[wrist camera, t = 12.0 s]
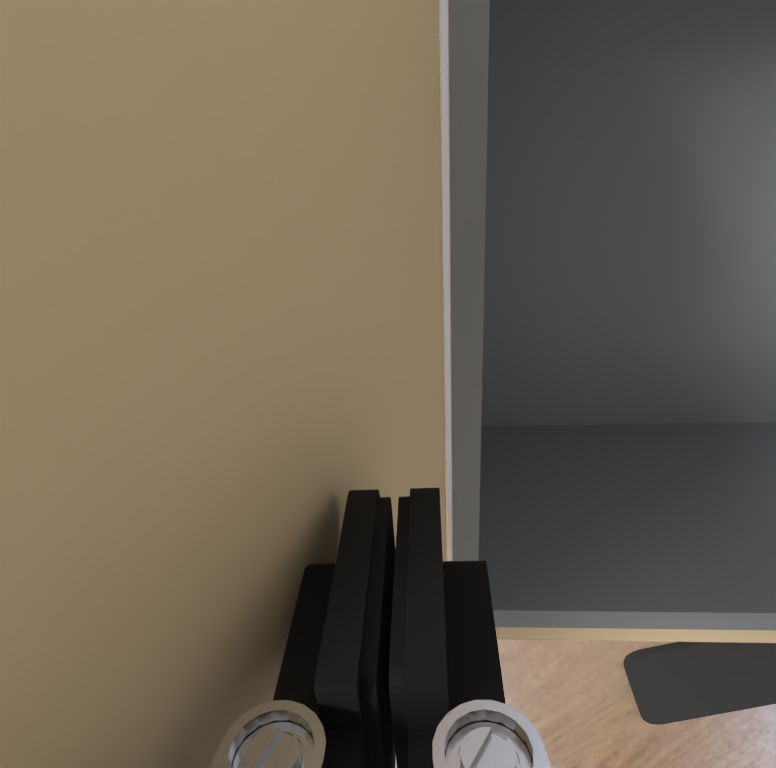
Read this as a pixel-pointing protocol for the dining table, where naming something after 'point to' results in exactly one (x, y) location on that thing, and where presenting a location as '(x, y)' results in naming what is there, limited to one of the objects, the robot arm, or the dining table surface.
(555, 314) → the carton
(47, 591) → the carton flap
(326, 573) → the robot arm
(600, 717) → the dining table surface
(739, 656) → the phone
